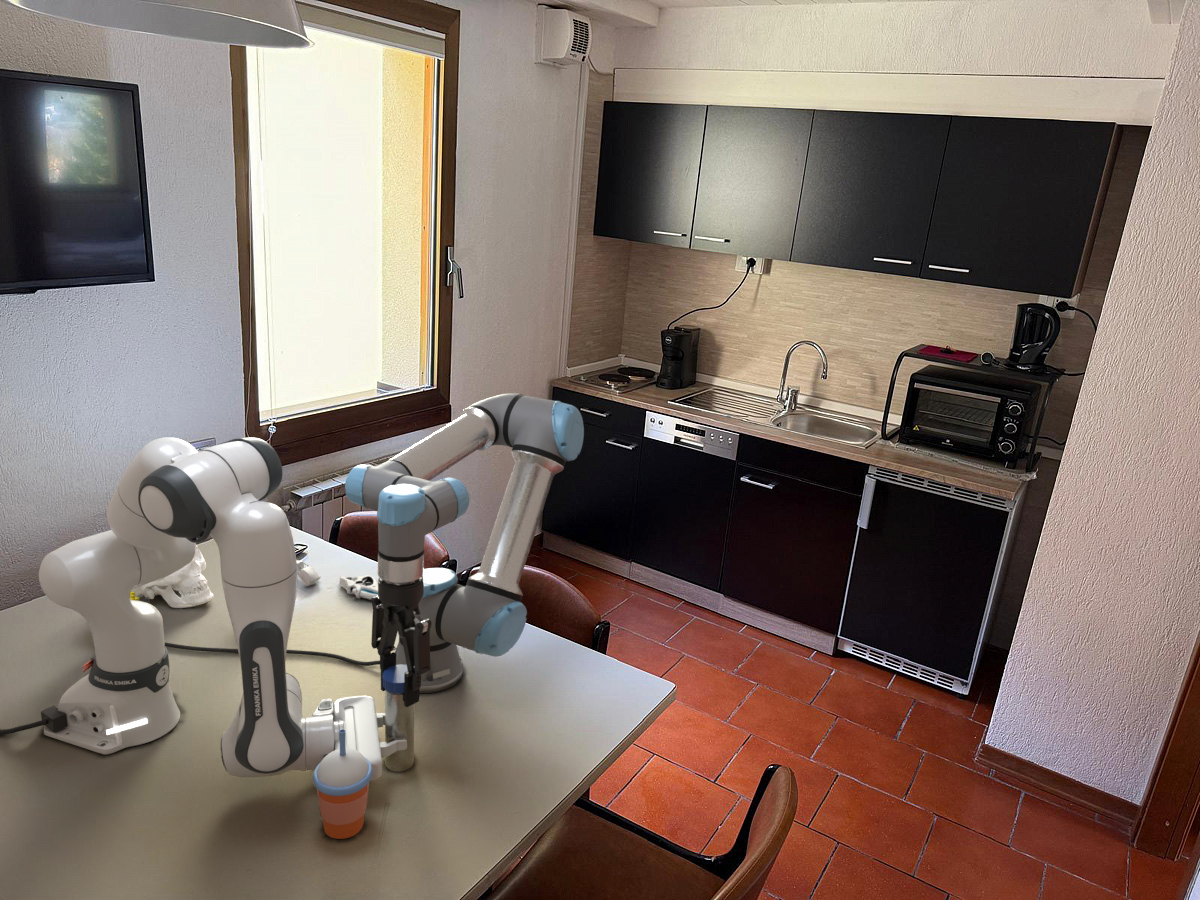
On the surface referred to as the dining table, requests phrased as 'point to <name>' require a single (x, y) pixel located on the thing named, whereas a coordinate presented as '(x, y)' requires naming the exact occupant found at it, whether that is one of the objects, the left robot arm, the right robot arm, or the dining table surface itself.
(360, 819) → the cup with straw
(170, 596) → the skull
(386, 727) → the silver metal cylinder
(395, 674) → the lid
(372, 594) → the toy gun
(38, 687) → the dining table surface
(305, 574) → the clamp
